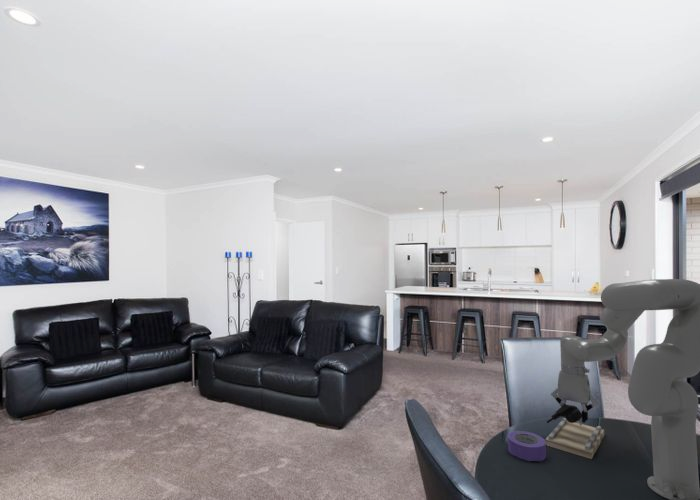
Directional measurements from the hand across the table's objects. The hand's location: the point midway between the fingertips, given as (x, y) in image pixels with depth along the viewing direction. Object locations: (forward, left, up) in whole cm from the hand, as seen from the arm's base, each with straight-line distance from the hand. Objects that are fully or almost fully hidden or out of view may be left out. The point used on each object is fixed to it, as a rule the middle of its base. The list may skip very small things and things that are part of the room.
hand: (574, 418), depth 133 cm
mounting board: (0, 0, -8) cm, 8 cm away
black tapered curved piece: (-5, +2, -1) cm, 5 cm away
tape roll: (-22, +10, -8) cm, 26 cm away
